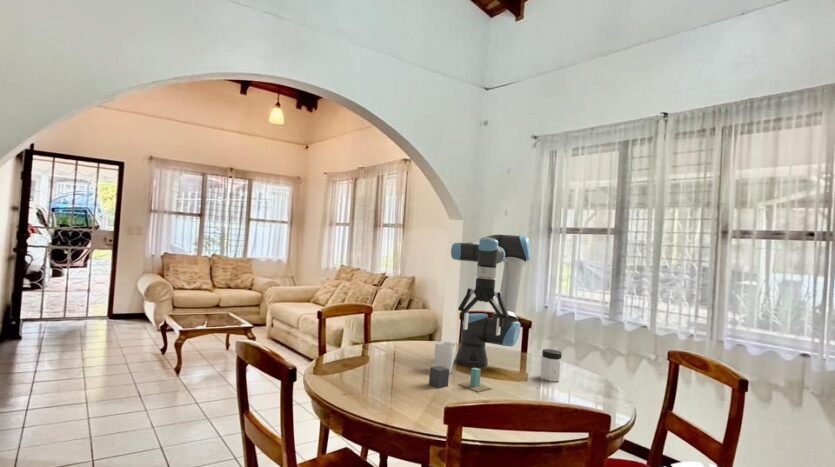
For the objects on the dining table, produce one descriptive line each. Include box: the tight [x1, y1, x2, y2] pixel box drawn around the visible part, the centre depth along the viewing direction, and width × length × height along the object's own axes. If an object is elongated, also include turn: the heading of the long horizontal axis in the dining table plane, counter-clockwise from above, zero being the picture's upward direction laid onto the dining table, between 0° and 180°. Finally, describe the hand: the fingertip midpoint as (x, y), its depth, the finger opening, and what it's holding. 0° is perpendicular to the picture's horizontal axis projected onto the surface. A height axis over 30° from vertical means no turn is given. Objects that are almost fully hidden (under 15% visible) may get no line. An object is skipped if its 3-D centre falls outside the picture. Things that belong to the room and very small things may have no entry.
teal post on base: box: [458, 367, 492, 393], centre depth 174 cm, size 10×8×7 cm
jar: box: [539, 348, 562, 382], centre depth 196 cm, size 9×8×12 cm
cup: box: [434, 340, 457, 374], centre depth 193 cm, size 9×9×12 cm
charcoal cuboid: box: [428, 365, 450, 389], centre depth 172 cm, size 5×5×7 cm
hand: (481, 332), depth 175 cm, fingers open, 13 cm apart
